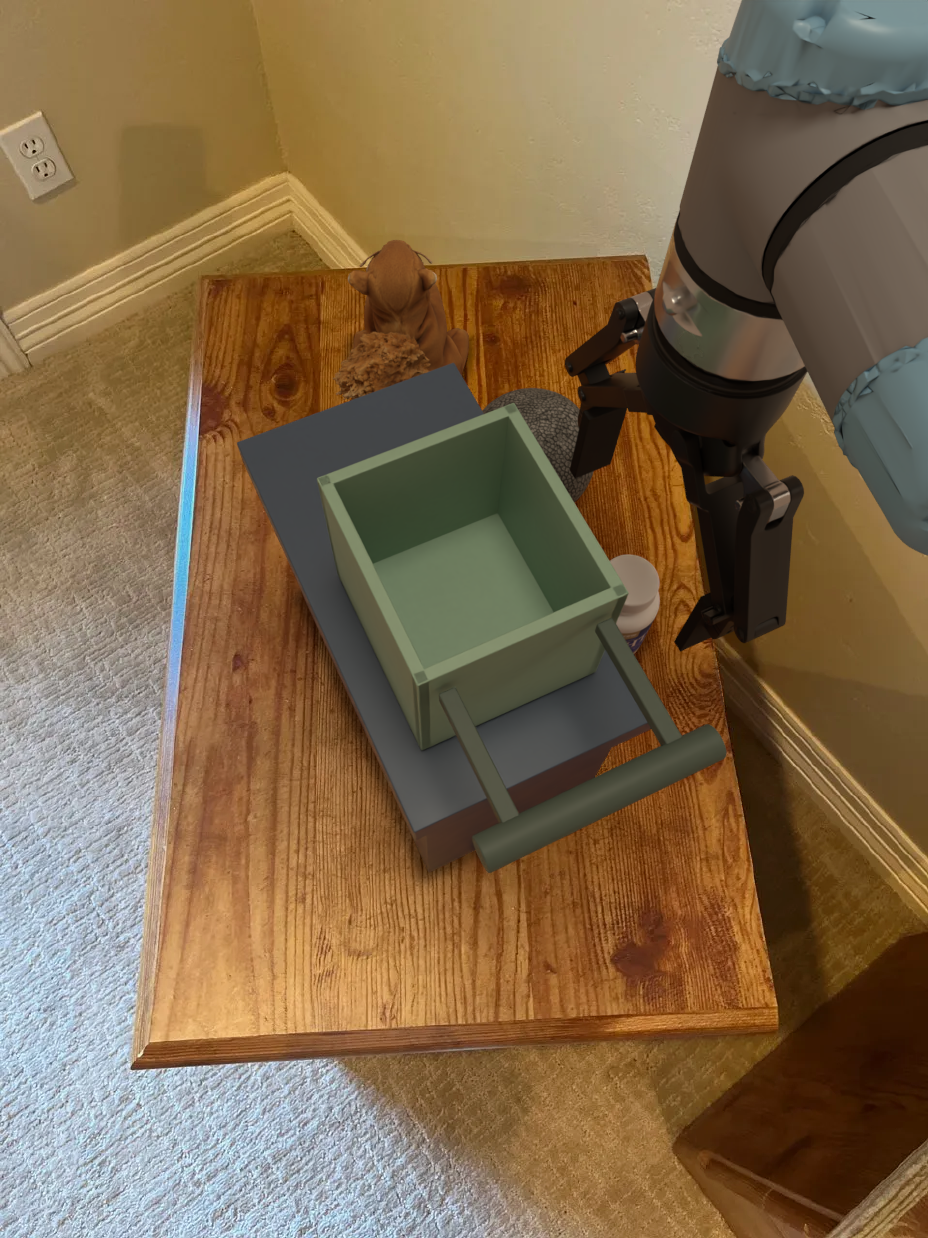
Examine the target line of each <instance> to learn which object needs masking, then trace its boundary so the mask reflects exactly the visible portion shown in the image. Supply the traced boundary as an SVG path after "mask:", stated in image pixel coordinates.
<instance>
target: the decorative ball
mask: <svg viewBox="0 0 928 1238" xmlns="http://www.w3.org/2000/svg"><path fill="white" fill-rule="evenodd" d="M512 403H514V404H515V405H516V407H517V409H518V410H519V412H520V414H521V415H522V417H523V419H524V420H525V422H526V424H527V425H528V427H529V428H530V430H531V432H532V433H533V435H534V437H535V438H536V440H537V442H538V443H539V445H540V447H541V448H542V450H543V452H544V453H545V455H546V457H547V458H548V460H549V462H550V463H551V465H552V467H553V468H554V470H555V472H556V473H557V475H558V476H559V478H560V480H561V481H562V483H563V485H564V486H565V488H566V490H567V491H568V493H569V495H570V496H571V498H572V500H573V501H574V503H575V504H576V502H577V501H578V500H579V499H580V498H581V497H582V495H583V494H584V492H585V491H586V490H587V488H588V487H589V484H590V482H591V480H592V478H593V475H594V473H595V471H593V472H590V473H588V474H585V475H583V476H581V477H578V478H576V479H575V478H574V476H573V475H572V473H571V472H570V466H571V462H572V457H573V453H574V449H575V444H576V440H577V436H578V431H579V427H578V414H579V410H580V407H578V406H577V405H576V404H575V402H573V401H572V400H571V399H570V398H568V397H567V396H565V395H563V394H561V393H558V392H556V391H553V390H550V389H545V388H539V387H525V388H518V389H514V390H512V391H509V392H505V393H503V394H501V395H499V396H498V397H496V398H495V399H493V400H492V401H491V402H489V403H488V404H487V405H486V406H485V407H484V408H483V409H482V411H483V413H484V414H486V413H488V412H491V411H494V410H496V409H499V408H502V407H504V406H506V405H509V404H512Z"/></svg>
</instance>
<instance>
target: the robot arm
mask: <svg viewBox="0 0 928 1238" xmlns="http://www.w3.org/2000/svg"><path fill="white" fill-rule="evenodd" d="M716 64H717V66H716V71H715V73H714V78H713V81H712V86H711V89H710V92H709V96H708V100H707V104H706V108H705V111H704V115H703V117H702V118H703V119H702V123H701V125H700V129H699V133H698V138H697V140H696V144H695V148H694V151H693V155H692V159H691V162H690V166H689V170H688V174H687V178H686V180H685V184H684V187H683V192H682V196H681V200H680V204H679V209H678V210H679V211H678V214H677V216H676V219H675V223H674V226H673V229H672V233H671V235H670V241H669V244H668V247H667V249H666V253H665V257H664V260H663V264H662V267H661V270H660V273H659V276H658V277H659V278H658V281H657V283H656V287H654V288H651V289H648V290H645V291H643V292H640V293H638V294H635V295H632V296H630V297H626V298H623V299H622V300H619V301H616V302H615V303H614V305H613V308H612V310H611V314H610V316H609V319H608V322H607V324H606V325H605V326H603V327H602V328H601V329H600V330H598V331H597V332H596V333H595V334H593V335H592V336H591V337H590V338H588V339H587V340H586V341H585V342H584V343H582V344H581V345H580V346H579V347H577V348H576V349H575V350H574V351H572V352H571V353H570V354H569V355H568V356H566V357H565V358H564V368H565V371H566V372H567V374H568V376H570V377H571V378H574V377H577V378H578V380H579V383H580V385H581V386H578V388H577V396H578V399H579V401H580V406H579V409H580V410H579V414H578V427H579V431H578V436H577V440H576V444H575V449H574V453H573V457H572V462H571V466H570V472H571V473H572V475H573V476H574V478H575V479H576V478H578V477H581V476H583V475H585V474H588V473H590V472H593V471H594V472H595V471H597V470H600V469H602V468H605V467H607V466H610V465H612V460H613V457H614V454H615V451H616V448H617V444H618V442H619V437H620V434H621V431H622V428H623V424H624V420H625V417H626V415H627V412H629V413H640V414H641V413H642V414H646V415H648V416H651V417H652V418H653V422H654V426H653V427H654V429H655V431H656V432H657V433H658V435H659V437H660V438H661V439H662V440H663V441H664V443H666V445H668V447H669V449H670V450H671V453H672V454H673V457H674V458H675V460H676V462H677V464H678V465H679V467H680V469H681V475H682V483H683V489H684V491H685V492H684V494H685V498H686V501H687V502H688V503H689V504H690V505H692V506H695V507H696V512H697V518H698V525H699V530H700V537H701V542H702V549H703V556H704V561H705V569H706V574H707V582H708V588H709V592H708V593H705V594H703V595H700V596H699V599H698V600H697V602H696V604H695V605H694V607H693V609H692V611H690V614H689V616H688V617H687V619H686V620H685V622H684V624H683V625H682V627H681V628H680V630H679V632H678V634H677V635H676V637H675V639H674V640H673V642H674V644H675V646H676V648H677V649H678V651H679V652H681V653H682V651H685V650H687V649H690V648H692V647H694V646H697V645H698V644H701V643H703V642H705V641H707V640H710V639H711V640H718V639H721V638H722V637H724V636H727V635H729V634H731V633H733V632H734V634H735V636H736V638H737V639H738V640H739V642H741V643H742V644H747V643H749V642H751V641H753V640H756V639H758V638H760V637H762V636H764V635H767V634H769V633H770V632H773V631H775V630H777V629H779V628H781V627H783V626H785V625H786V622H787V611H788V609H787V608H788V595H789V585H790V584H789V583H790V569H791V568H790V567H791V555H792V544H793V543H792V542H793V541H792V540H793V527H794V518H795V515H796V513H797V511H798V509H799V507H800V505H801V503H802V500H803V498H804V495H805V488H804V485H803V483H802V481H801V480H800V478H799V477H797V476H796V475H789V476H787V477H784V478H782V479H779V478H778V477H777V475H776V474H775V473H774V472H773V471H772V469H771V468H770V467H769V466H768V465H767V463H766V462H765V461H764V460H763V459H764V457H765V456H764V455H765V443H766V436H767V433H768V432H769V431H770V430H771V429H772V427H773V426H774V425H775V424H776V423H777V422H778V420H779V419H780V418H781V417H782V416H783V414H784V413H785V412H786V410H787V409H788V408H789V406H790V404H791V402H792V401H793V399H794V397H795V396H796V393H797V391H798V390H799V388H800V386H801V385H802V382H803V381H804V379H805V377H806V376H807V374H808V376H809V377H810V379H811V382H812V384H813V386H814V388H815V390H816V392H817V394H818V396H819V398H820V400H821V403H822V405H823V407H824V409H825V411H826V413H827V416H828V417H829V419H830V422H831V424H832V425H833V428H834V430H833V435H834V437H835V439H836V443H837V445H838V447H839V448H840V450H841V451H842V456H845V457H846V458H847V460H848V462H849V463H850V465H851V467H853V468H854V469H856V470H857V471H858V473H859V475H860V476H861V478H862V480H863V482H864V483H865V485H866V486H867V488H868V490H869V492H870V493H871V496H872V497H873V498H874V500H875V502H876V504H877V505H878V507H879V508H880V510H881V512H882V513H883V516H884V517H885V519H886V521H887V522H888V524H889V526H890V528H891V529H892V531H893V533H894V534H895V535H896V537H897V538H898V539H899V540H900V541H901V542H902V543H903V544H904V545H905V546H907V547H908V548H910V549H912V550H913V551H916V552H917V553H920V554H922V555H925V556H928V0H741V1H740V4H739V7H738V9H737V13H736V16H735V19H734V22H733V24H732V27H731V30H730V34H729V37H727V38H726V39H725V40H723V42H722V44H721V46H720V47H719V49H718V55H717V59H716ZM636 345H638V347H637V351H636V355H635V372H627V369H626V368H625V369H622V370H619V371H616V372H614V373H612V374H610V371H609V369H608V366H607V365H608V364H610V363H611V362H613V361H615V359H617V358H618V357H620V356H621V355H623V354H624V353H626V352H627V351H628V350H630V349H631V348H633V347H635V346H636ZM594 472H593V473H594ZM705 477H715V478H717V477H718V479H716V480H713V481H711V482H709V483H706V480H705Z"/></svg>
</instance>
